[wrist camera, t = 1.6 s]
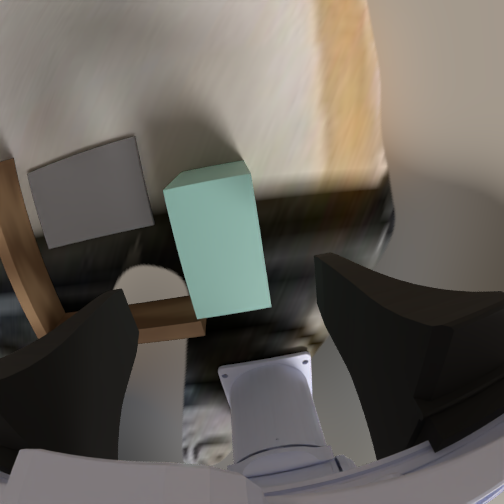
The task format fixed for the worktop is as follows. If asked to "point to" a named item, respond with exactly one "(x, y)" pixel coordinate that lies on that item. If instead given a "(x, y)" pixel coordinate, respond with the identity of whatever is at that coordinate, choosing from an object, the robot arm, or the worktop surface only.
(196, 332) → the wooden l-shaped bracket
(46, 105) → the worktop surface
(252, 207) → the teal block
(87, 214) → the pad
